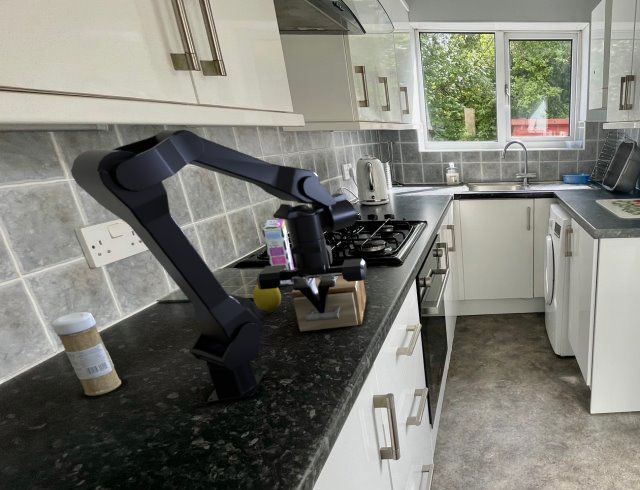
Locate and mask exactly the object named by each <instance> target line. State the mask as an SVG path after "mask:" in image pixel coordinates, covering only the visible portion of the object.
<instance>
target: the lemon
mask: <svg viewBox="0 0 640 490" xmlns="http://www.w3.org/2000/svg"><path fill="white" fill-rule="evenodd" d="M252 290H253V291H252V298H253V301H254V304H255V306H256V307H257V308H258V309H259V310H262V311H264V312H268V313H273V312H274V310H276V309H278V307H279V306H280V305H281V302H282V294H281V291H280V289H279V286H278V287H277V288H274V289H262V290H261V289H259V287H258V283H257V284H256V285H255V286H254V288H253V289H252Z"/></svg>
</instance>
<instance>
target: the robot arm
mask: <svg viewBox="0 0 640 490" xmlns="http://www.w3.org/2000/svg"><path fill="white" fill-rule="evenodd" d="M187 165H192V166H195V167H199V168H201V169H205V170H207V171H211V172H215V173H218V174H220V175H224V176H227V177H231V178H233V179H237V180H240V181H242V182H246V183H250V184H253V185H255V186H257V187H259V188H260V189H262V190H263V191H264V192H266V193H267V194H268V195H271V196H273V197H275V198H277V199H278V200H281V201H284V202H294V203H296V204H299V205H294V206H292V205H291V204H286V203H280V205H279V208H278V209H276V211H275V212H274V213H273V215H272V217H273V218H274V219H284V221H286V227H287V230H288V234H289V240H290V243H291V248H290V251H291V255H292V258H293V259H294V263H295V266H296V269H295V268H294V270H288V269H287V267H286V265H275V266H270V265H265V266H264V267H263V269H262V270H261V271H260V272H259V274H258V275H257V276H256V283H257V284H258V287H259V289H261V290H262V289H274V288H277V287H278V288H279V287H280V286H279V285H280V284H281V281H284V280H293V282H294V284H293V287H292V288H293V289H294V290H299V291H300V292H301V293H302V294H303V295H304V296H305V297H306V298H307V299H308V300H309V301H310V302H311V303H312V304H313V306H314V307H315V308H316V309H317V311H318V312H319V313H325V308H326V302H327V296H328V291H329V288H330V287H334V286H335V284H336V281H337V278H338V276H342V275H343V279H345V280H346V281H347V282H352V281H362V280H364V281H365V280H366V278H367V271H368V269H367V263H366V261H365V260H364V259H363V258H354V259H344V261H343V263H342V265H332V263H333V253H332V246H330V245H327V243H326V239H325V233H332V232H334V231H338V230H342V229H345V228H347V227H352V226H354V225H355V223H356V221H357V218H358V214H357V213H358V212H357V210H356V209H355V207H354V205H353V204H352V203H351V202H350V201H349V200H348V199H347V194H346V193H340V192H337V193H333V194H331V193H330V192H329V191H328V189H326V188H325V187H324V185H323V184H322V183H321V181H320V179H319V176H318V175H317V173H316V172H314V171H313V170H310V169H305V168H299V167H294V166H288V165H281V164H274V163H271V162H268V161H266V160H262V159H260V158H258V157H254V156H252V155H249V154H246V153H244V152H241V151H239V150H236V149H233V148H230V147H229V146H226V145H224V144H220V143H218V142H215V141H212V140H210V139H207V138H205V137H202V136H199V135H197V134H196V133H194V132H193V131H191V130H187V129H163V130H161V131H159V132H157V133H155V134H153V135H150V136H149V137H146V138H142V139H139V140H136V141H132V142H129V143H125V144H123V145H120V146H116V147H114V148H112V149H98V148H97V149H89V150H85V151H83V152H81V153H79V154H78V155H77V156H76V157H75V158H74V160H73V163H72V166H71V168H70V173H71V177H72V178H73V180H74V181H75V183H76V184H77V185H78V186H79V187H80V188H81V189H82V190H83V191H84V192H85V193H87V194H88V195H89V196H90V197H91V198H92V199H94V200H95V201H96V203H98V204H99V205H100V206H102V207H103V208H104V209H106V210H107V211H109V212H110V213H111V214H113V215H114V216H116V217H117V218H119V219H120V220H122V221H123V222H124V223H126V224H127V225H128V226H129V227H130V228H131V229H132V231H133V232H134V233H135V234H136V236H137V237H138V238H139V239H140V240H141V242H142V243H143V244H144V245H145V247H146V248H147V249H148V250H149V252H150V253H151V255H153V257H154V258H155V259H156V261H158V263H159V264H160V266H161V267H162V268H163V269H164V270H165V272H166V273H167V274H168V275H169V277H170V278H171V279H172V280H173V282H174V283H175V284H176V286H178V288H179V290H180V291H181V292H183V294H184V296H185V297H186V299H188V300H189V302H190V303H191V304H192V307H193V310H194V318H195V322H196V324H197V326H198V328H199V330H200V331H199V333H198V335H197V336H196V338H195V340H194V342H193V343H192V345H191V347H190V349H189V353H191V355H192V356H194V358H196V359H197V360H202V361H204V362H206V363H205V364H206V366H207V367H206V368H207V369H208V373H209V376H210V379H211V382H212V385H213V388H214V390H213V391H212V393H211V394H210V396H209V398H208V399H207V403H208V404H216V403H217V404H218V403H225V402H230V401H238V400H244V399H251V398H254V396H255V394H256V393H257V390H258V388H259V386H260V384H261V382H262V381H263V379H264V376H265V375H264V373H256V374H255V371H254V368H253V365H252V360H254V359H256V358H258V357H259V350H260V341H261V336H262V332H263V331H264V325H263V322H262V321H261V319H263V318H264V316H263V315H261V314H260V313H259V312H258V311H257V310H256V308H255V306H254V303H253V302H252V300H251V298H248V297H244V296H240V295H236V294H232V293H228V292H227V291H226V289H225V288H224V287H223V285H222V283H221V281H219V279H218V278H217V277H216V275H215V274H214V272H213V271H212V269H211V268H210V266H208V264H207V263H206V261H205V260H204V258H203V257H202V255H201V254H200V253H199V252H198V250H197V249H196V248H195V246H194V245H193V243H192V242H191V241H190V239H189V237H188V235H186V233H185V232H184V231H183V229H182V228H181V226H180V225H179V223H178V222H177V221H176V220H175V218H174V217H173V215H172V213H171V211H170V204H169V195H168V191H167V190H166V187H165V185H164V183H163V181H165V180H168V179H170V178H171V177H173V176H175V175H176V174H177V173H178V172H179V171H181V170H183V168H184V167H186V166H187ZM308 205H311V207H310V206H308ZM324 232H325V233H324ZM330 265H332V266H330ZM315 278H319V279H320V283H319V285H318V291H317V287H316V281H315ZM318 293H319V294H318Z"/></svg>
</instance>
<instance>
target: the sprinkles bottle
mask: <svg viewBox="0 0 640 490" xmlns="http://www.w3.org/2000/svg"><path fill="white" fill-rule="evenodd" d="M50 325H51V328H52V330H53V331H54V334H55V335H57V337H58V338H59V340H60V342H61V344H62V346H63V348H64V352H65V353H66V356H67V357H68V360H69V362H70V364H71V366H72V368H73V370H74V372H75V374H76V376H77V379H79V381H80V383H81V386H82V388H83V390H84V394H85V395H86V396H88V397H90V396H91V397H92V396H95V397H96V396H100V395H105V394H108V393H109V392H112V391H114V390H116V389H117V388H118V387H120V386H121V384H122V380H121V379H120V378H119V376H118V373H117V370H116V369H115V365H114V363H113V361H112V359H111V356H110V354H109V352H108V349H107V348H106V346H105V343H104V342H103V339H102V336H101V335H100V333H99V331H98V329H97V324H96V320H95V318H94V316H93V314H92V313H91V312H88V311H81V312H80V311H79V312H73V313H69V314H64V315H63V316H60V317H57V318H55V319H54V320H53V321H52V322H51V323H50Z"/></svg>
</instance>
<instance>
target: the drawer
mask: <svg viewBox="0 0 640 490" xmlns="http://www.w3.org/2000/svg"><path fill="white" fill-rule="evenodd" d="M352 291H353V290H352ZM352 291H342V292H331V293H328V296H327V302H326V308H325V313H319V312H318V311H317V309H316V308H315V307H314V306H313V304H312V303H311V302H310V301H309V300H308V299H307V298H306V297H305V296H304V295H300V297H296V298H294V302H293V306H294V305H295V307H294V310H295V309H296V311H295V315H296V314H297V316H296V319H297V318H298V320H297V324H298V323H299V325H298V328H299V327H300V329H299V332H307V331H308V330H309V331H318V330H326V328H327V329H336V328H343V327H344V326H345V327H353V325H354V326H359V325H358V320H357V314H356V308H355V301H354V295H353V292H352ZM335 327H336V328H335ZM317 329H318V330H317Z"/></svg>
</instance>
